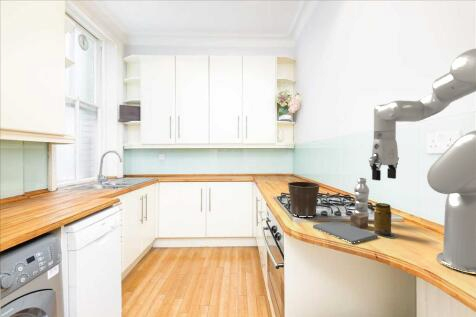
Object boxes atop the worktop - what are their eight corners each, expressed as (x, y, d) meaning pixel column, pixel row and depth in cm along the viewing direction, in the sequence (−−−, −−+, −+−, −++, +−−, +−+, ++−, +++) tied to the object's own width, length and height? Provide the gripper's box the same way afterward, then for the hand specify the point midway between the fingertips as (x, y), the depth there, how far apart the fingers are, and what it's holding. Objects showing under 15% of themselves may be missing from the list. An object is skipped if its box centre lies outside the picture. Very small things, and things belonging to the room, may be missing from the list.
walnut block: (367, 227, 109) (368, 216, 108) (359, 229, 106) (360, 217, 106) (357, 224, 113) (357, 213, 113) (350, 225, 111) (350, 214, 110)
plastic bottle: (353, 221, 116) (353, 179, 115) (353, 217, 122) (354, 177, 121) (368, 223, 113) (369, 179, 112) (368, 219, 119) (369, 178, 118)
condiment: (377, 229, 106) (377, 201, 105) (399, 234, 99) (400, 205, 99) (369, 233, 101) (370, 204, 100) (392, 239, 95) (393, 208, 94)
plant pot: (326, 218, 122) (326, 185, 121) (296, 221, 118) (296, 187, 117) (309, 209, 138) (309, 180, 137) (282, 212, 134) (282, 182, 133)
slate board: (377, 237, 97) (377, 234, 97) (352, 244, 91) (352, 241, 90) (336, 222, 115) (336, 220, 115) (313, 227, 108) (313, 225, 108)
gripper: (379, 135, 91) (379, 182, 92) (407, 135, 99) (406, 178, 100) (361, 136, 98) (361, 179, 99) (388, 136, 106) (388, 176, 106)
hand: (384, 179), depth 99 cm, fingers open, 9 cm apart
